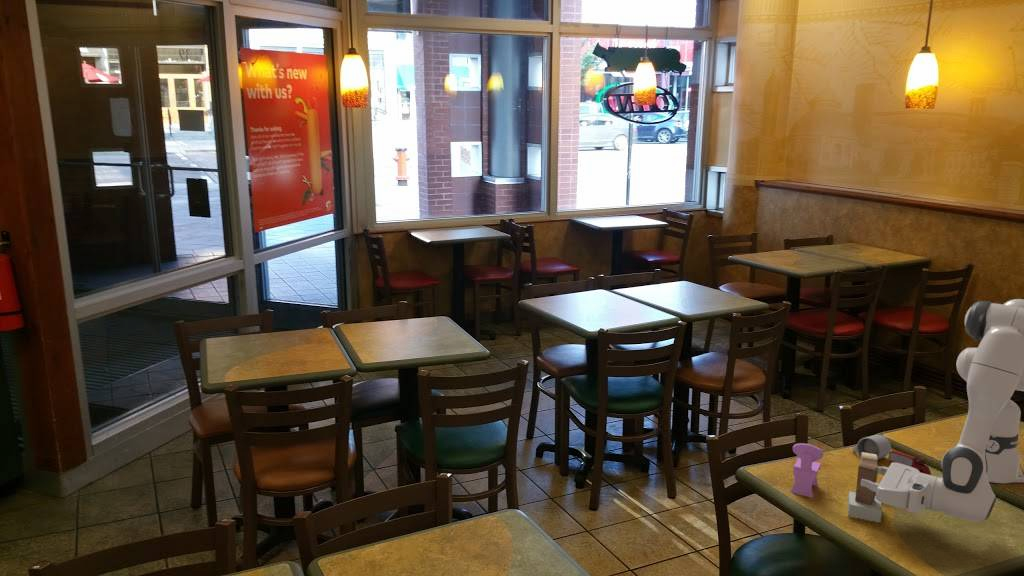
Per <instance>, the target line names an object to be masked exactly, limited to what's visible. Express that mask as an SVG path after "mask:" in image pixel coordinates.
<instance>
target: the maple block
mask: <svg viewBox="0 0 1024 576" xmlns="http://www.w3.org/2000/svg"><path fill="white" fill-rule="evenodd" d="M878 461H879V460H878V459H877V454H870V453H864V452H862V454H861V457H860V461H859V463H860V464H861V463H862V462H866V463H870V464H874V465H878ZM860 464H859V465H860Z"/></svg>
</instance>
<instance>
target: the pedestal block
mask: <svg viewBox="0 0 1024 576" xmlns="http://www.w3.org/2000/svg"><path fill="white" fill-rule="evenodd" d="M855 497H856V491H850V490H849V491H848V496H847V503H846V504H847V517H849V518H853V517H854V518H855V519H858V518H860V519H859V520H863V519H865V520H864V521H868V520H869V522H873V521H875V522H874V523H878V522H880V523H881V521H882V515H883V513H882V512H883V506H882V503H881V502H879V501H878V500H877V499H876V495H875V500H874V501H873V503H872V504H871V505H869V504H865V503H862V502H858V501H855ZM854 518H853V519H854Z"/></svg>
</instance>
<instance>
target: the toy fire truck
mask: <svg viewBox="0 0 1024 576" xmlns="http://www.w3.org/2000/svg"><path fill="white" fill-rule="evenodd" d="M888 460H889V462H888V463H889V464H888V467H889V466H890V465H891V463H893V462H895V463H900V464H904V465H907V466H910V467H913V468H915V469H918V470H919V471H920V473H924V474H928V475H932V473H931V470H930V468H929V466H928V465H926V461H925V459H924V458H921V457H919V458H918V459H917V458H916V457H915V456H913V455H910V454H907V453H903V452H900V451H897V450H894V449H891V451H890V453H889V454H888Z"/></svg>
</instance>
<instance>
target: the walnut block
mask: <svg viewBox="0 0 1024 576" xmlns="http://www.w3.org/2000/svg"><path fill="white" fill-rule="evenodd" d="M878 467H879V465H878V464H877V465H874V464H870V463H866V462H862V463H861V464H859V465H858V467H857V469H858V470H857V480H856V481H857V482H856V489H855V492H856V497H855V501H858V502H862V503H865V504H869V505H871V504H872V503H873V501H874V500H875V496H876V492H873V491H872V490H870V489H869V488H867V487H864V486H861V485H860V483H861V479H862V478H865V479H869V481H871V482H873V483H875V482H876V483H878V481H877V480H878V474H877V472H878Z"/></svg>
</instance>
